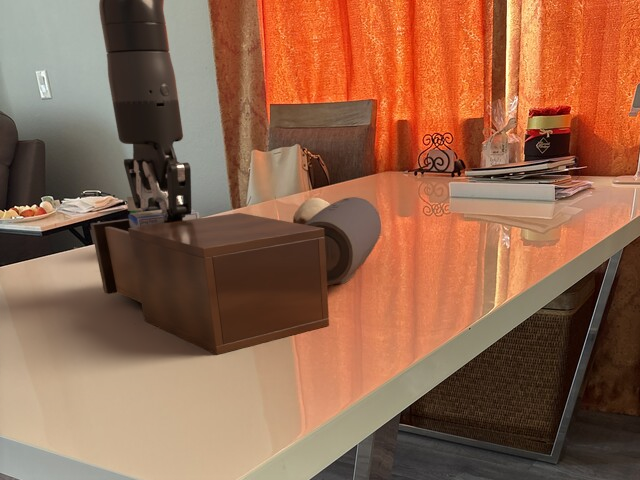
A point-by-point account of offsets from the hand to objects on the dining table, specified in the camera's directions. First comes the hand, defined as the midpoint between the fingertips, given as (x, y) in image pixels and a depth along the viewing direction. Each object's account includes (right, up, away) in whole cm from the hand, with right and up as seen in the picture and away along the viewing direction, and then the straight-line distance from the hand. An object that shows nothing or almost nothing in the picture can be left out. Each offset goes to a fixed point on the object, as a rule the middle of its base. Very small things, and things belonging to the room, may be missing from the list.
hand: (168, 246), depth 92 cm
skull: (+18, +12, +36) cm, 42 cm away
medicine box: (0, -4, +2) cm, 5 cm away
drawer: (-1, -5, +4) cm, 6 cm away
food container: (-9, +9, +32) cm, 35 cm away
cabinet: (+10, -11, -7) cm, 17 cm away
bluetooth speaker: (+22, 0, +13) cm, 26 cm away
